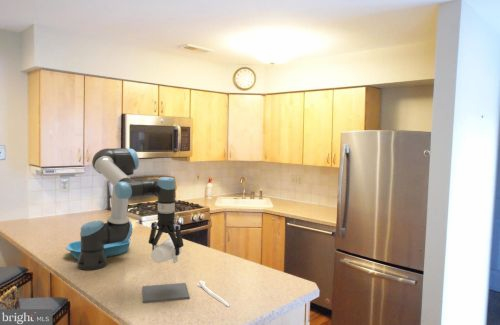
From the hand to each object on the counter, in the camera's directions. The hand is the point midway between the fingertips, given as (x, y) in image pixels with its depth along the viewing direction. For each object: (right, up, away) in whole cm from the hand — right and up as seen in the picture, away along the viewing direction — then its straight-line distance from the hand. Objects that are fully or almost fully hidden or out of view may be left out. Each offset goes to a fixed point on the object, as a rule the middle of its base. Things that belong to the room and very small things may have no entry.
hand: (165, 260), depth 175 cm
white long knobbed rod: (+22, -17, +1) cm, 28 cm away
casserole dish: (-51, -10, +55) cm, 75 cm away
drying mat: (0, -15, +1) cm, 15 cm away
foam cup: (-2, +4, -7) cm, 8 cm away
